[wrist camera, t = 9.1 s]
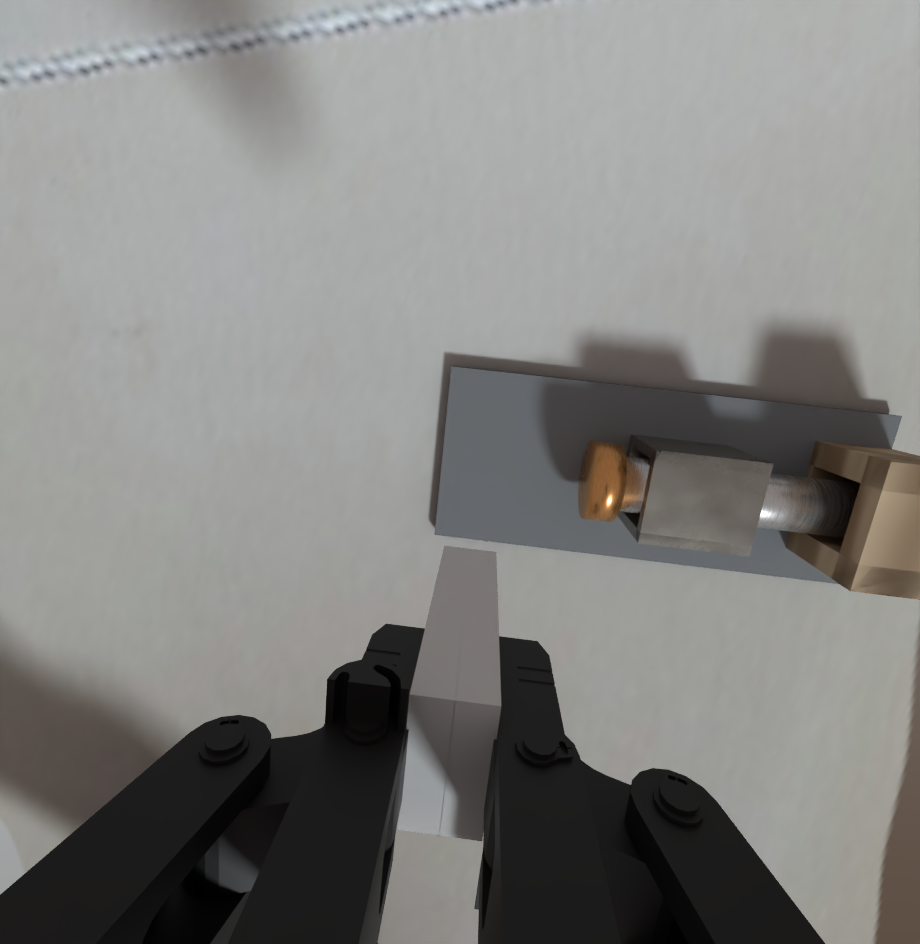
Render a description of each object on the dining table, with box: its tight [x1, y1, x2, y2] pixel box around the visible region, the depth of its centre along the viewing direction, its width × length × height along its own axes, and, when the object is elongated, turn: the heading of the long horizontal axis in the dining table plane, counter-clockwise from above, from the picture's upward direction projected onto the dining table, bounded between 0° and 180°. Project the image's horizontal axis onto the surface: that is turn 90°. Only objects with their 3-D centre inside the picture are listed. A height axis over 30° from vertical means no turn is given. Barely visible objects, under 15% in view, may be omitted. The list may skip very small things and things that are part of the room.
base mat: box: [435, 366, 902, 584], centre depth 32 cm, size 27×11×1 cm, turn 84°
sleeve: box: [618, 435, 773, 557], centre depth 29 cm, size 6×5×5 cm
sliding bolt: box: [578, 441, 860, 538], centre depth 29 cm, size 16×5×5 cm, turn 84°
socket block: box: [786, 441, 920, 600], centre depth 29 cm, size 4×7×6 cm, turn 174°
